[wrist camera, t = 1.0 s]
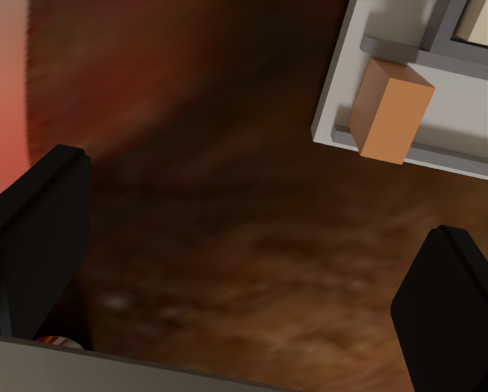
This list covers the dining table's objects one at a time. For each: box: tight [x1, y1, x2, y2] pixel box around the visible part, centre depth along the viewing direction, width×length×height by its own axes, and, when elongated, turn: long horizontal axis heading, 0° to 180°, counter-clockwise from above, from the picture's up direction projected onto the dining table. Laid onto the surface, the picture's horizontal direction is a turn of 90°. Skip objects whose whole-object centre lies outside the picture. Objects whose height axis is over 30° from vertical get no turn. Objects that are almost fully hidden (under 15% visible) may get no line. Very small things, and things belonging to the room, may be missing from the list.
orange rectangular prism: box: [348, 57, 436, 165], centre depth 24 cm, size 2×4×5 cm, turn 169°
